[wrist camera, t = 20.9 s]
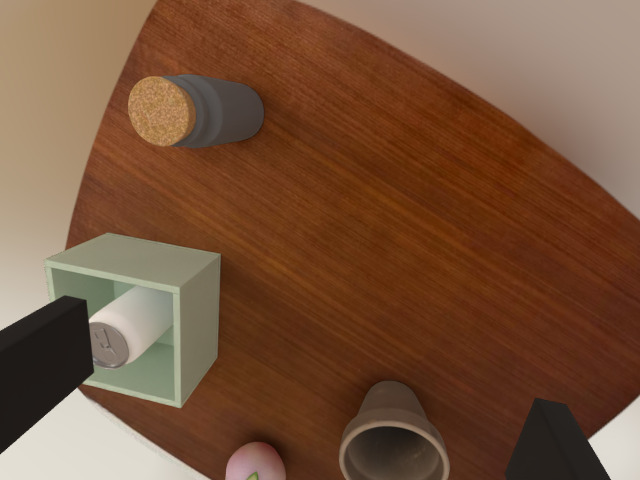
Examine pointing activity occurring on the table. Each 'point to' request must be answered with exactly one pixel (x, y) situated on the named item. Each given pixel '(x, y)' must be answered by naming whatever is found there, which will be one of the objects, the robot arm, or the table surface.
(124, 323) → the can
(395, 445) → the flower pot
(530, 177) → the table surface
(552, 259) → the table surface
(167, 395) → the bin
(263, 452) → the decorative fruit
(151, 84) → the bottle
